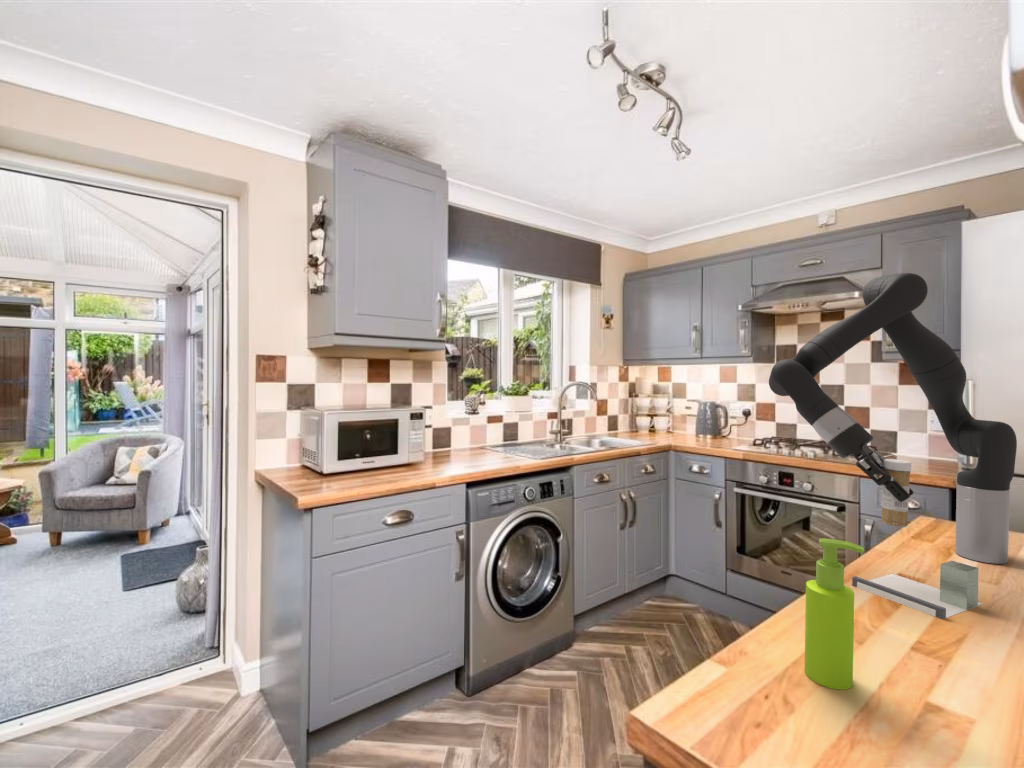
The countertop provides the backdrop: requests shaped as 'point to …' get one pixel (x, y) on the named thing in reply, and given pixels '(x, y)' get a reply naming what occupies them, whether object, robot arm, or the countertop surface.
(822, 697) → the countertop surface
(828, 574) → the soap dispenser
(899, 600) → the tray
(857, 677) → the countertop surface
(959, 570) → the tea tin
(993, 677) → the countertop surface
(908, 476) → the spice jar
